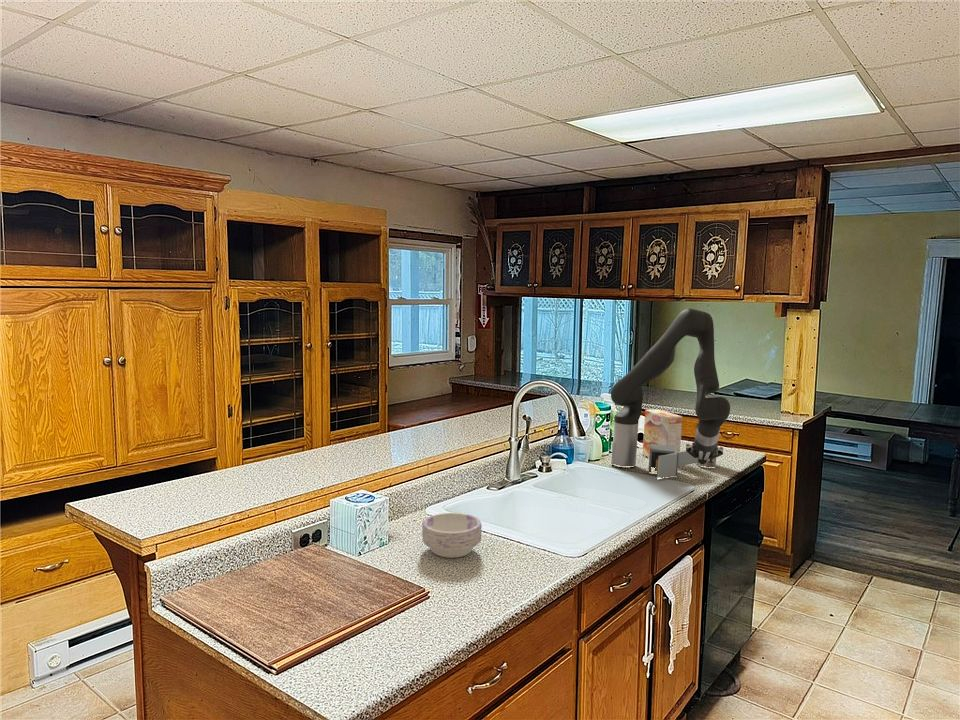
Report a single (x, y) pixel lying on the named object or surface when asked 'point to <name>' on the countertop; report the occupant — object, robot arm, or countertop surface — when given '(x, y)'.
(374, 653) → the countertop surface
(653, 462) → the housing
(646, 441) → the coffeecake box
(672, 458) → the door
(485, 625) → the countertop surface
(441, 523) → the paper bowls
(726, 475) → the countertop surface
